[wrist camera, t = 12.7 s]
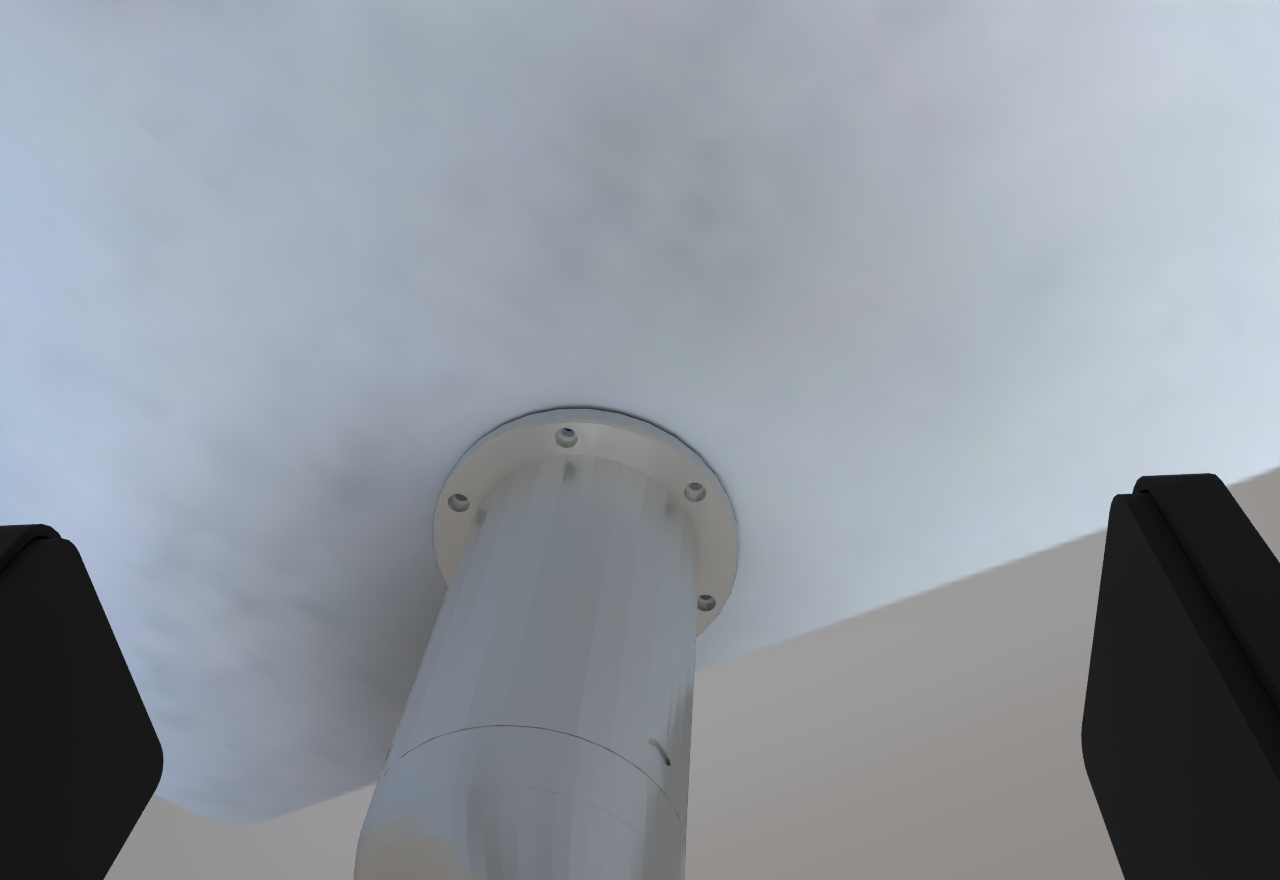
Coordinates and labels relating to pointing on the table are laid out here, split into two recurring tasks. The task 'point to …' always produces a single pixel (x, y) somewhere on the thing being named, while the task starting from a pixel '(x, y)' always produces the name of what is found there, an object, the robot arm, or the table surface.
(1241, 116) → the table surface
